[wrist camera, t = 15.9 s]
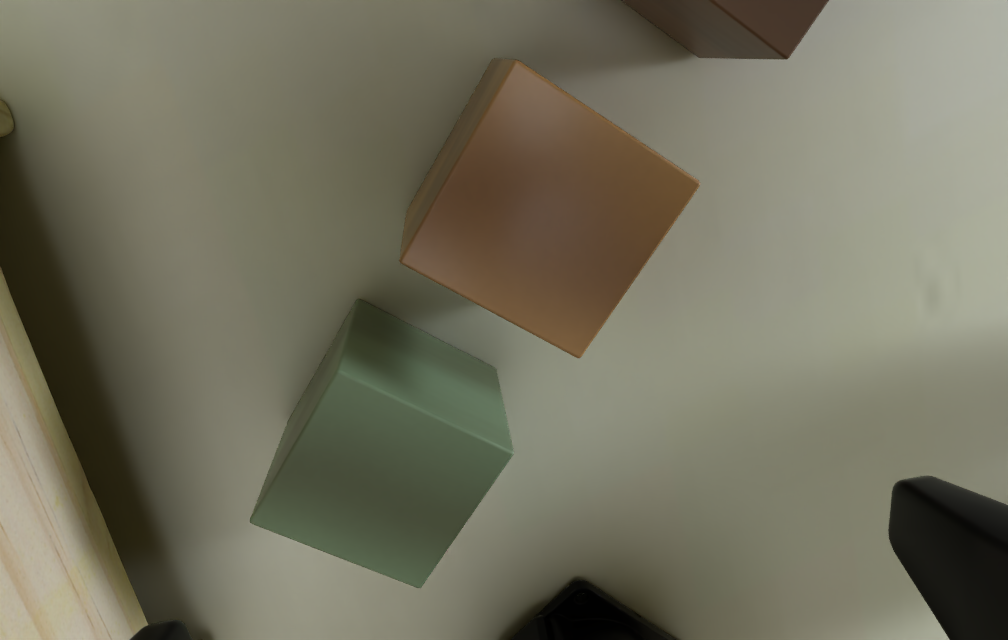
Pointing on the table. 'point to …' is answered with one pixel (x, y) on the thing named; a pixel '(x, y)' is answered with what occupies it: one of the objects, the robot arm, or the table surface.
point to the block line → (489, 298)
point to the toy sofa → (50, 510)
